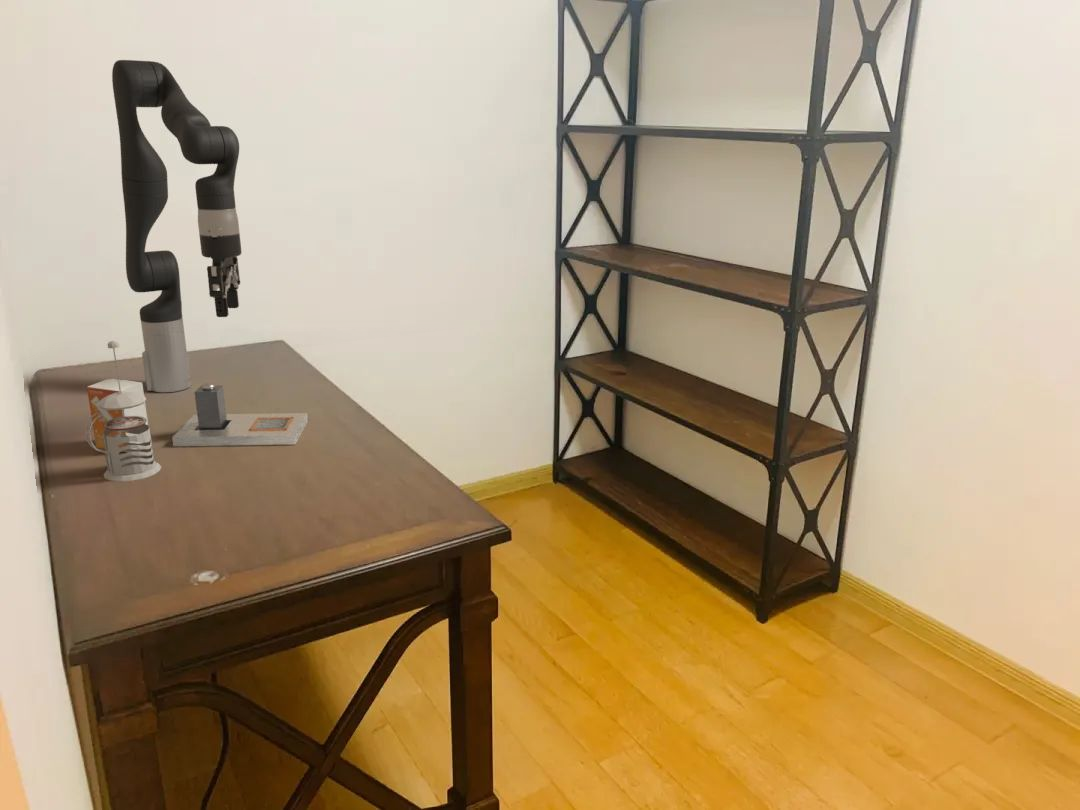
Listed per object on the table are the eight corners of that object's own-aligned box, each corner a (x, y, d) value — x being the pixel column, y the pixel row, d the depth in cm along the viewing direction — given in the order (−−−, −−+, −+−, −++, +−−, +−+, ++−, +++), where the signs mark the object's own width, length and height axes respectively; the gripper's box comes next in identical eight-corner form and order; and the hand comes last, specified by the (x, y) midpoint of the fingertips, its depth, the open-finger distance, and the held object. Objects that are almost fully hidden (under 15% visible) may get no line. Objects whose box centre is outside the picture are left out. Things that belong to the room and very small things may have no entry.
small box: (95, 448, 166) (85, 386, 162) (119, 438, 172) (110, 377, 168) (128, 453, 164) (119, 390, 160) (152, 442, 170) (143, 381, 166)
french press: (170, 470, 156) (152, 340, 148) (105, 489, 148) (83, 352, 140) (148, 457, 163) (129, 331, 155) (84, 473, 155) (61, 342, 147)
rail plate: (173, 446, 168) (172, 436, 167) (195, 423, 181) (193, 413, 181) (295, 444, 170) (294, 434, 169) (307, 421, 183) (306, 412, 182)
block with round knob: (200, 438, 173) (194, 388, 169) (206, 430, 177) (200, 382, 174) (222, 437, 173) (216, 387, 170) (227, 430, 177) (222, 381, 174)
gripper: (209, 227, 172) (218, 305, 177) (189, 236, 159) (199, 320, 164) (247, 227, 173) (254, 305, 178) (229, 236, 159) (238, 319, 164)
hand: (228, 312), depth 171 cm, fingers open, 8 cm apart
